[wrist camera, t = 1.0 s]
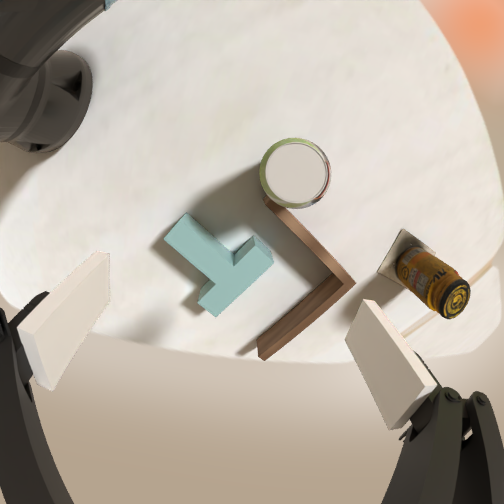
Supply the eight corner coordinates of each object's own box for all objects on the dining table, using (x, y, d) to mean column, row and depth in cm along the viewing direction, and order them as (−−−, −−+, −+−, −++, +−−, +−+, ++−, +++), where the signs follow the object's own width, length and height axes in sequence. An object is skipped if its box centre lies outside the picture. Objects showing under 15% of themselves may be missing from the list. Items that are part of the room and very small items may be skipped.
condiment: (412, 291, 38) (454, 331, 27) (376, 271, 37) (419, 313, 26) (435, 252, 36) (484, 284, 25) (401, 227, 35) (454, 257, 24)
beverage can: (302, 206, 33) (333, 232, 22) (246, 184, 32) (248, 200, 21) (321, 159, 32) (361, 162, 20) (264, 136, 30) (277, 124, 19)
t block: (155, 249, 35) (146, 260, 31) (205, 191, 32) (200, 195, 29) (217, 301, 37) (215, 317, 34) (270, 251, 35) (274, 262, 31)
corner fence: (182, 281, 36) (176, 296, 32) (269, 192, 33) (273, 196, 29) (262, 343, 40) (264, 361, 36) (345, 270, 37) (356, 283, 33)
